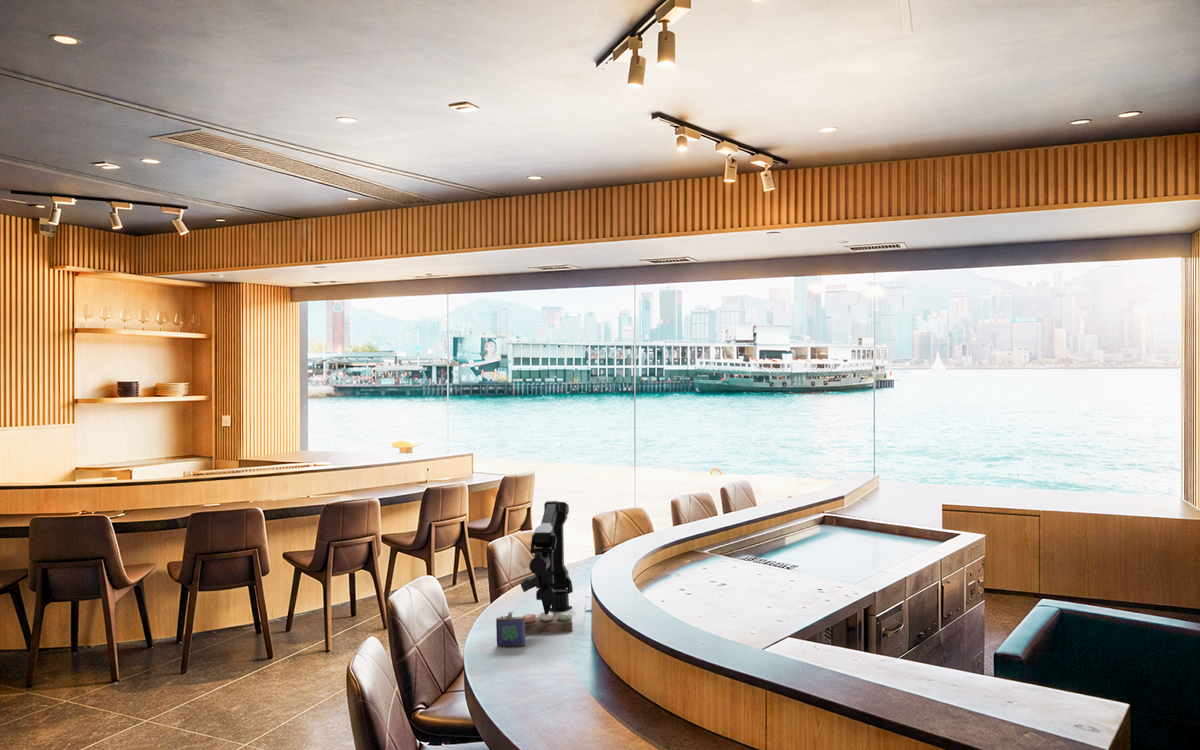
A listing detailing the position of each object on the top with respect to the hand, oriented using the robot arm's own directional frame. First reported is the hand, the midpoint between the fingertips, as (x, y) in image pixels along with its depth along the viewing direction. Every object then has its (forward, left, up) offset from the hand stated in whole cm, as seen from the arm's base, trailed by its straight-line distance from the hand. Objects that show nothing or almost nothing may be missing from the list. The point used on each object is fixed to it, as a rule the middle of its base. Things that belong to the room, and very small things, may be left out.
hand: (546, 614), depth 244 cm
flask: (+19, +1, -5) cm, 20 cm away
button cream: (0, 0, -2) cm, 2 cm away
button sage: (-4, +5, -2) cm, 6 cm away
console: (0, 0, -5) cm, 5 cm away
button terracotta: (+4, -5, -2) cm, 6 cm away
